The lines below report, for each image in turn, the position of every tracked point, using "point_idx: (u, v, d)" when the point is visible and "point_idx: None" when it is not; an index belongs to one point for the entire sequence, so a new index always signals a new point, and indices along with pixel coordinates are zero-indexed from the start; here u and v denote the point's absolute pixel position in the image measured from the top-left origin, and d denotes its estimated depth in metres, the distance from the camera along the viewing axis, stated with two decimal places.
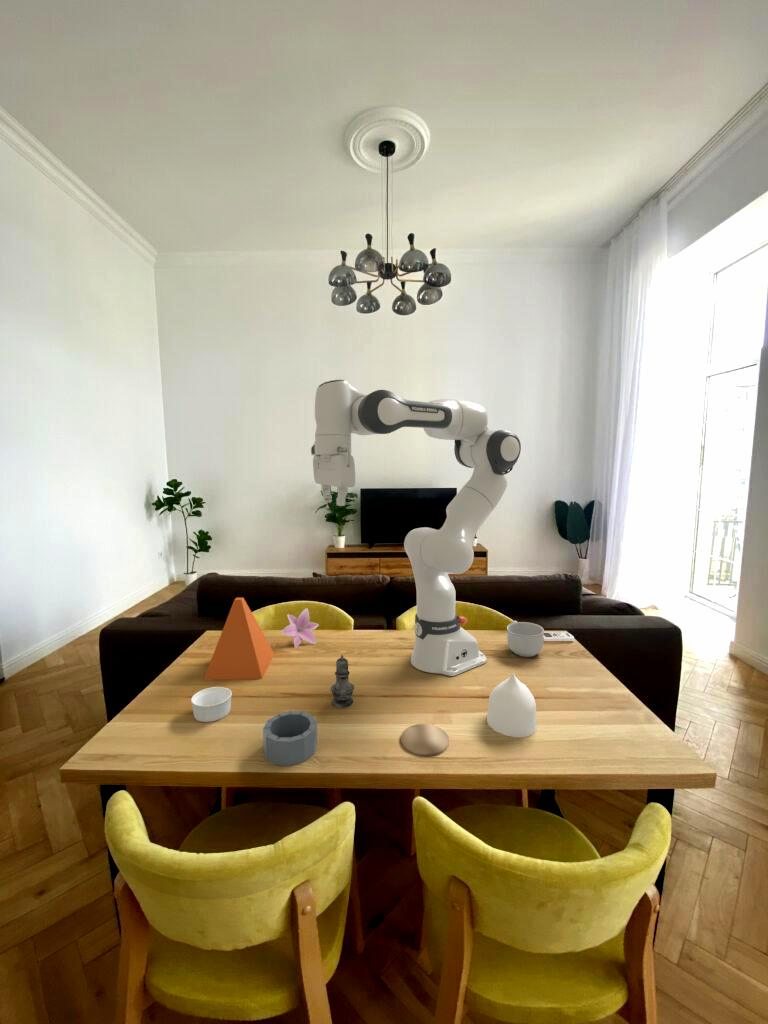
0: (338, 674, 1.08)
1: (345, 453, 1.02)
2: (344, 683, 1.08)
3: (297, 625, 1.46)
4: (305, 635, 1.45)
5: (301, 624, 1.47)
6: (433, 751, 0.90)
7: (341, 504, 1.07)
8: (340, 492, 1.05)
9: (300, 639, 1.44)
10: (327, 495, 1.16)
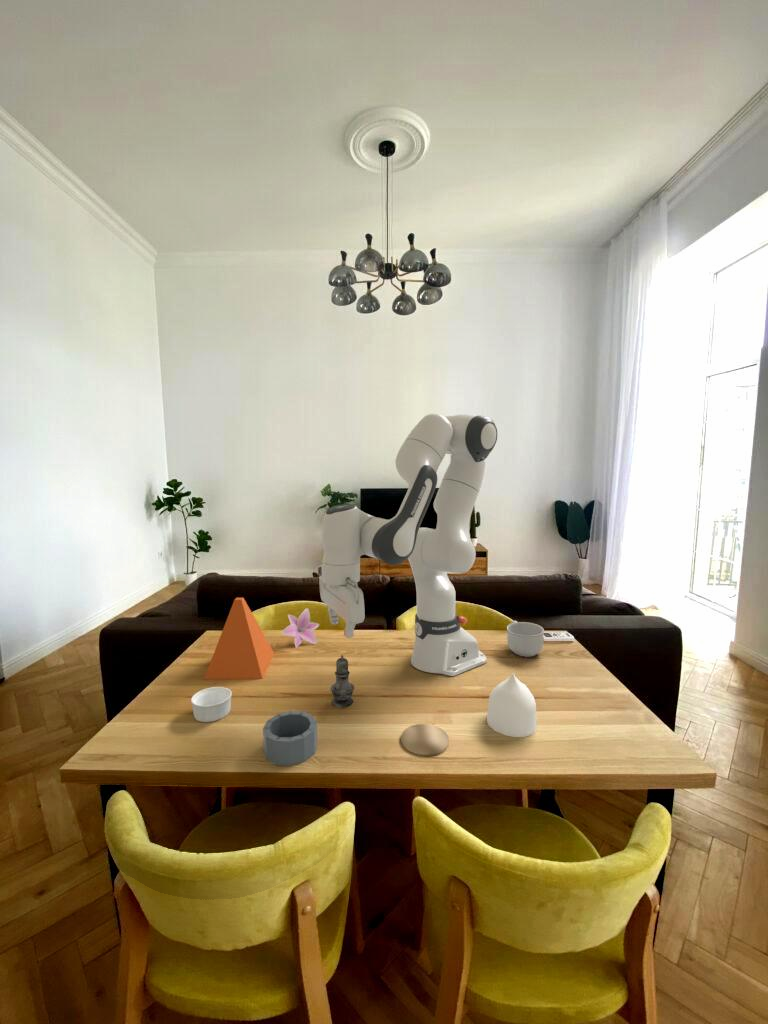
0: (338, 674, 1.08)
1: (354, 589, 0.98)
2: (344, 683, 1.08)
3: (297, 626, 1.46)
4: (306, 635, 1.45)
5: (302, 624, 1.46)
6: (433, 751, 0.90)
7: (349, 636, 1.03)
8: (348, 625, 1.01)
9: (301, 639, 1.43)
10: (334, 616, 1.11)
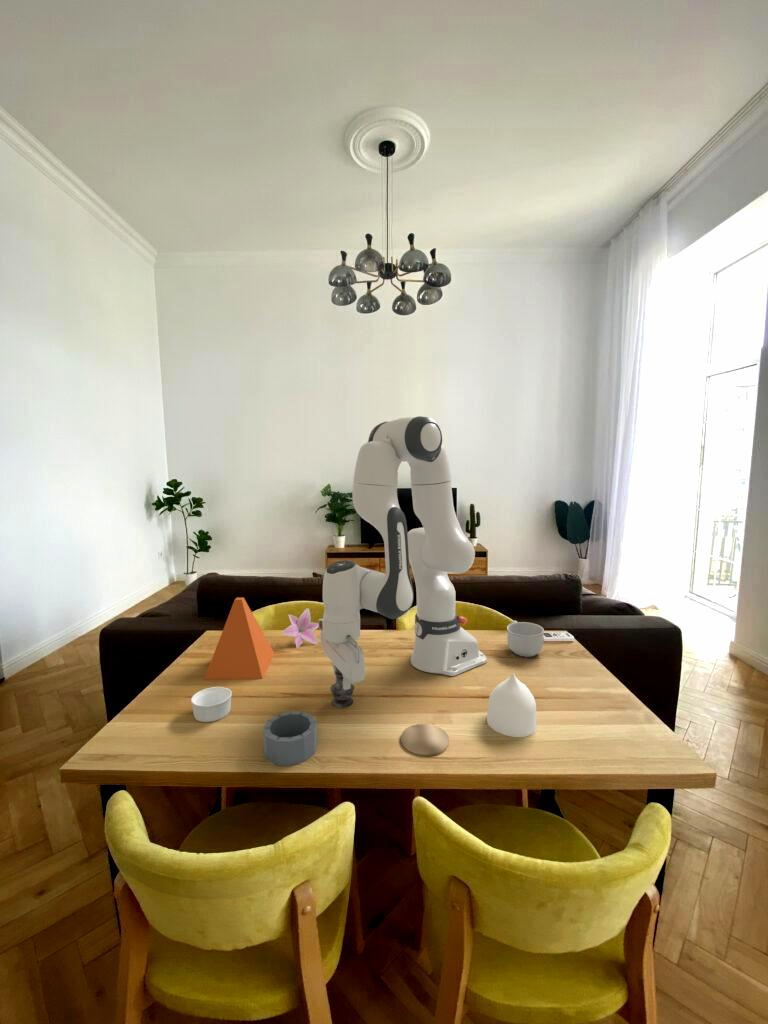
0: (338, 674, 1.08)
1: (354, 649, 1.00)
2: None
3: (298, 626, 1.46)
4: (306, 635, 1.45)
5: (303, 624, 1.46)
6: (433, 751, 0.90)
7: (346, 688, 1.06)
8: (345, 678, 1.05)
9: (301, 639, 1.43)
10: None
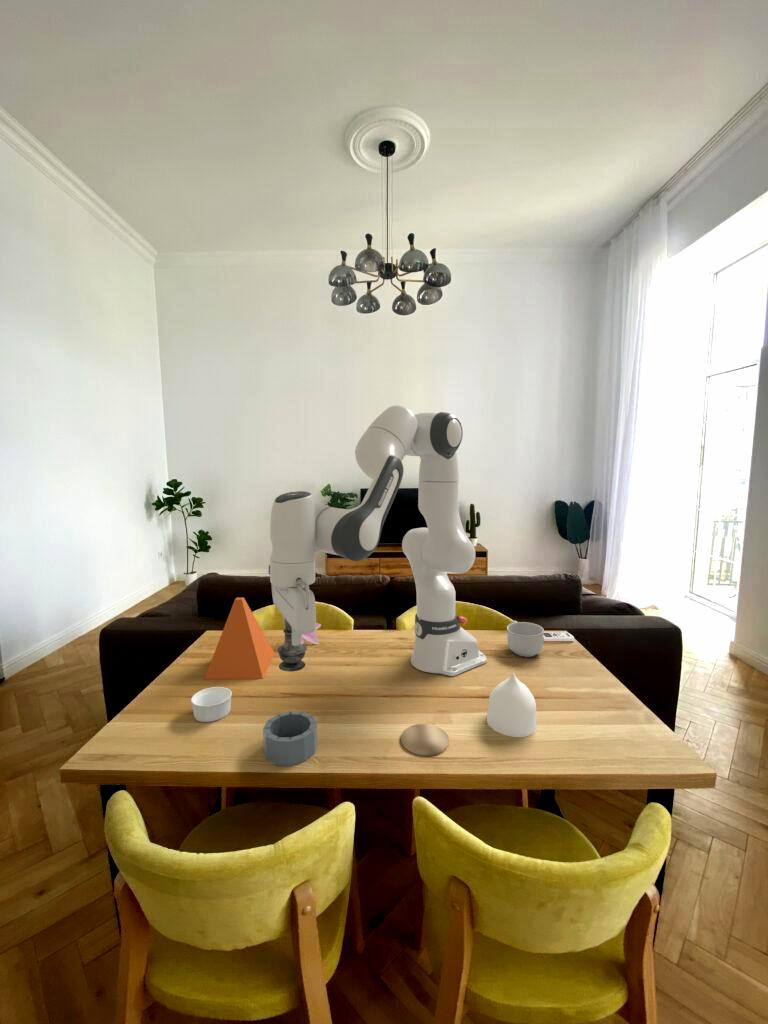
0: (287, 631, 0.90)
1: (303, 592, 0.82)
2: None
3: None
4: (308, 635, 1.44)
5: None
6: (433, 751, 0.90)
7: (296, 644, 0.88)
8: (294, 631, 0.87)
9: (303, 639, 1.43)
10: None
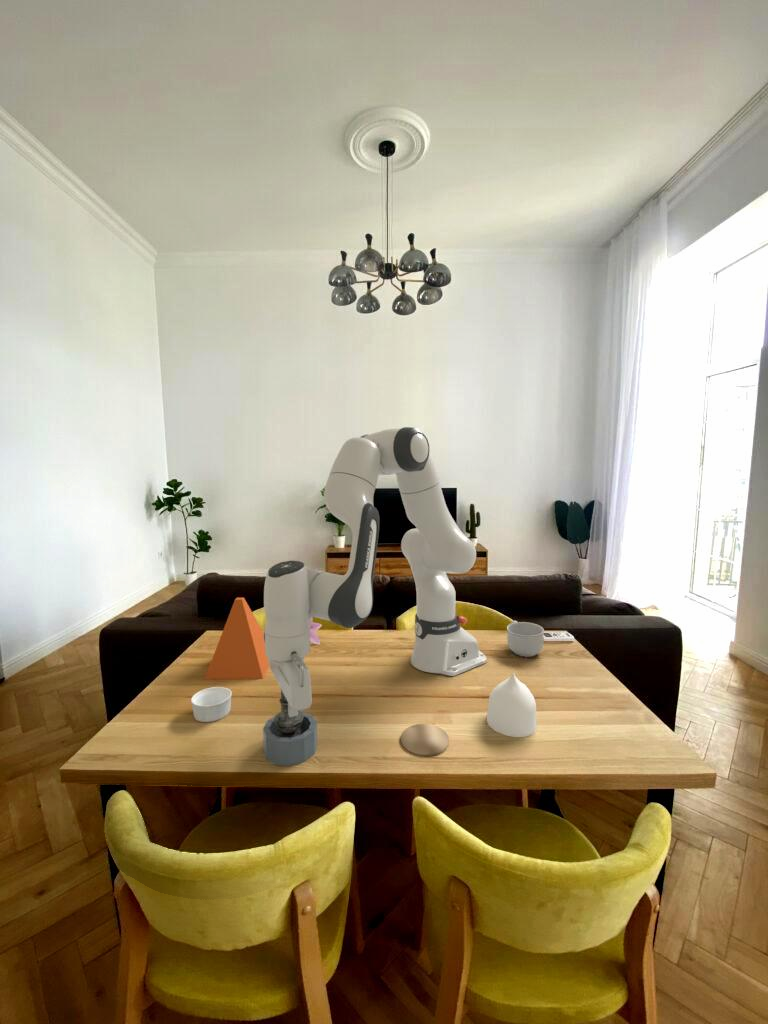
0: (283, 702, 0.90)
1: (298, 669, 0.81)
2: None
3: None
4: None
5: None
6: (433, 751, 0.90)
7: (292, 715, 0.88)
8: None
9: None
10: None
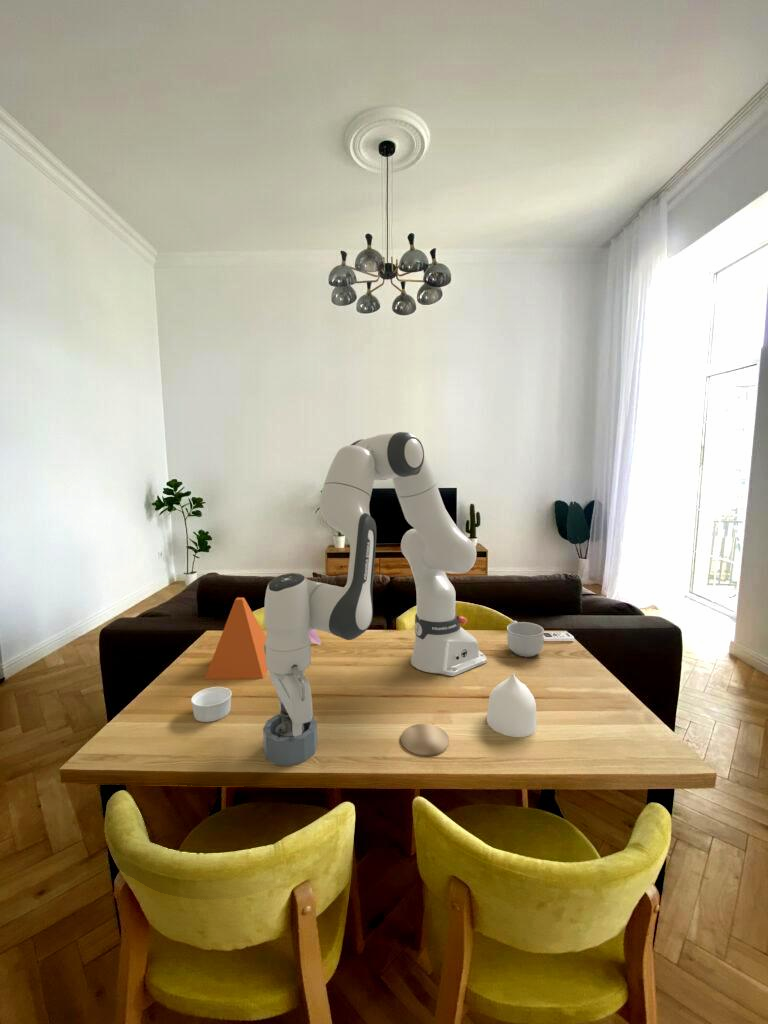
0: (284, 713, 0.90)
1: (299, 683, 0.82)
2: None
3: None
4: None
5: None
6: (433, 751, 0.90)
7: (297, 734, 0.86)
8: None
9: None
10: None
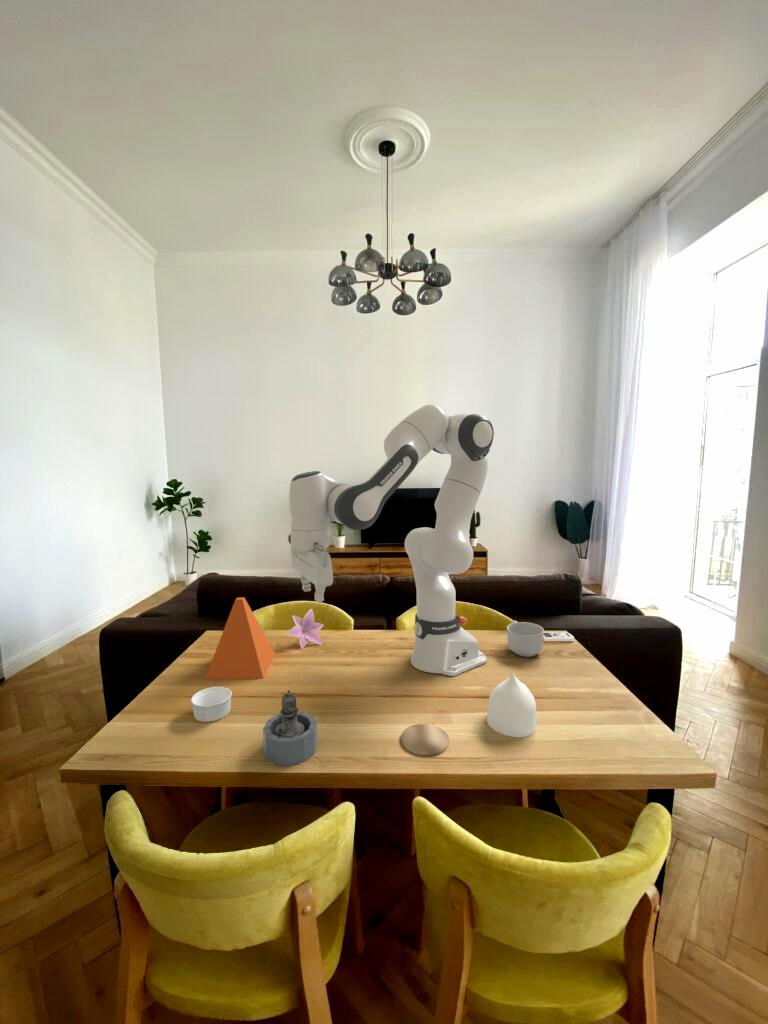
0: (284, 713, 0.90)
1: (321, 553, 1.00)
2: (291, 724, 0.90)
3: (302, 626, 1.45)
4: (311, 636, 1.44)
5: (306, 624, 1.46)
6: (433, 751, 0.90)
7: (319, 600, 1.04)
8: (317, 589, 1.03)
9: (306, 640, 1.43)
10: (306, 584, 1.13)
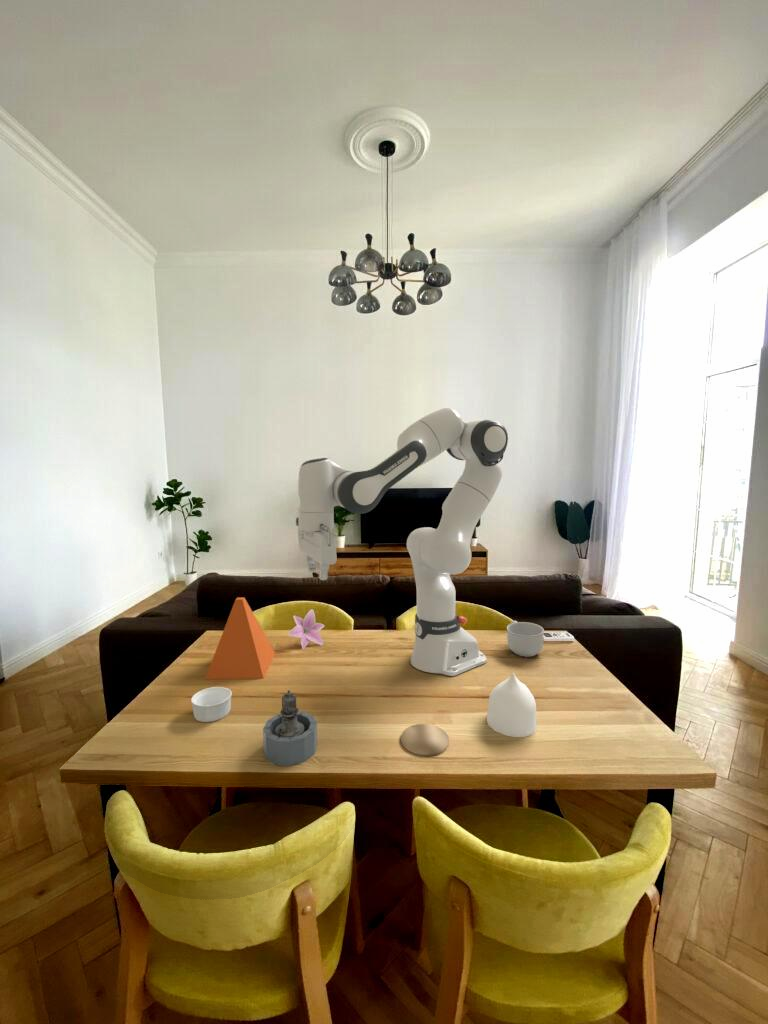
0: (284, 713, 0.90)
1: (326, 533, 1.07)
2: (291, 724, 0.90)
3: (303, 627, 1.45)
4: (312, 636, 1.44)
5: (307, 625, 1.46)
6: (433, 751, 0.90)
7: (323, 578, 1.11)
8: (322, 567, 1.10)
9: (307, 640, 1.43)
10: (311, 564, 1.20)
